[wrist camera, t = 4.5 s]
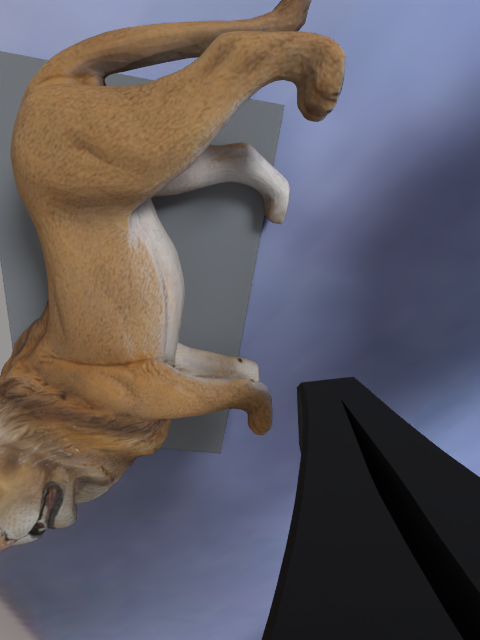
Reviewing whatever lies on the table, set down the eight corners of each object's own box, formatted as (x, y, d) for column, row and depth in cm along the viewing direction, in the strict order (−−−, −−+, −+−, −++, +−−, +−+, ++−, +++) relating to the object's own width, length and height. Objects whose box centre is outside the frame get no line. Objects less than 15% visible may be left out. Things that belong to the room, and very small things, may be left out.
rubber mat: (281, 107, 10) (284, 105, 10) (220, 442, 16) (220, 453, 15) (-15, 51, 9) (-30, 45, 9) (31, 425, 15) (24, 436, 15)
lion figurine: (256, 589, 10) (-107, 580, 9) (241, 459, 15) (10, 445, 14) (387, -111, 6) (-266, -268, 5) (305, 42, 11) (-17, -18, 10)
